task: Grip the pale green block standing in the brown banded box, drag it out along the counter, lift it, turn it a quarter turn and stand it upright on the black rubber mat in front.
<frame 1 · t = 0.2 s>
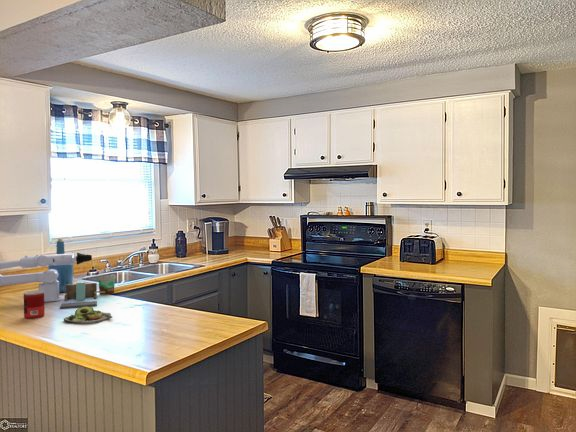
hand: (91, 257, 244), 21 cm above the worktop, tool horizontal, fingers open, 7 cm apart
salad plate: (87, 320, 197), on the worktop
canned food: (34, 317, 201), on the worktop
rubber mat: (79, 305, 223), on the worktop
wine bottle: (60, 291, 262), on the worktop
food container: (109, 293, 256), on the worktop
brown banded box: (81, 298, 240), on the worktop
pale green block: (81, 299, 240), on the worktop
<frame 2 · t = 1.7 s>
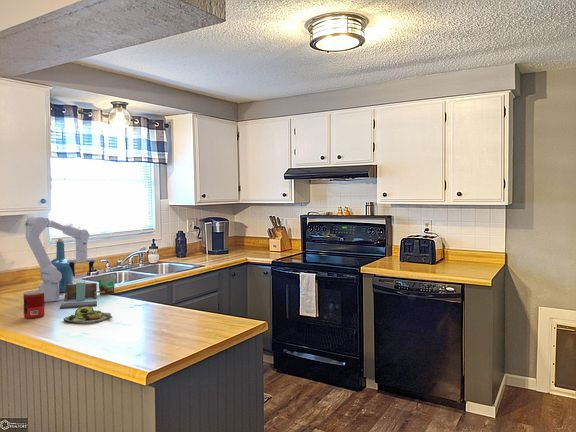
hand: (81, 275, 251), 10 cm above the worktop, tool pointing down, fingers open, 7 cm apart
nothing on the worktop moved.
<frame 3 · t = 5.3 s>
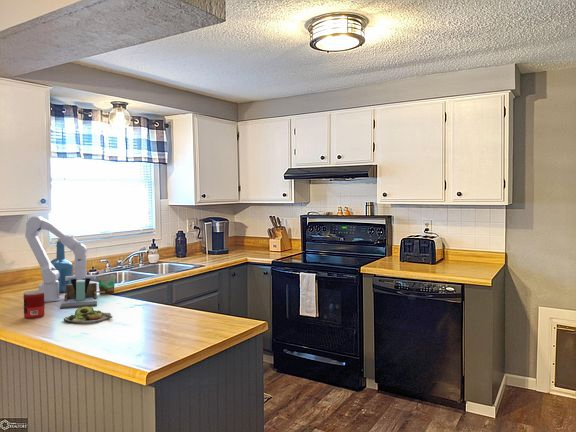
hand: (80, 293, 240), 3 cm above the worktop, tool pointing down, fingers closed on pale green block, 4 cm apart
pale green block: (81, 298, 240), on the worktop, touching gripper
everything else where it was.
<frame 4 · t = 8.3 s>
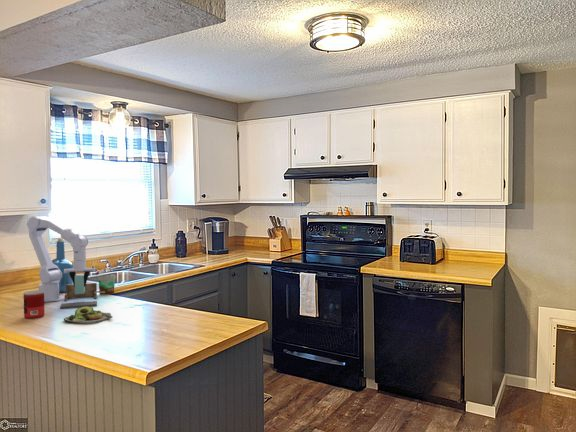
hand: (80, 286, 233), 8 cm above the worktop, tool pointing down, fingers closed on pale green block, 4 cm apart
pale green block: (80, 292, 233), point 4 cm above the worktop, touching gripper
everything else where it was.
when the fingers open (5 cm above the worktop, at t = 11.8 s): pale green block drops 1 cm, resting on rubber mat.
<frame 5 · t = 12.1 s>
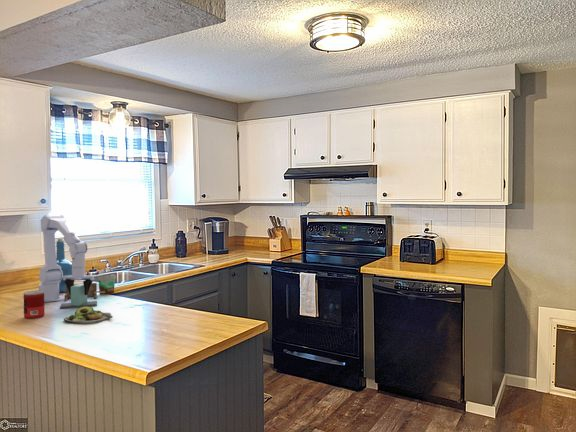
hand: (78, 294, 223), 5 cm above the worktop, tool pointing down, fingers open, 7 cm apart
pale green block: (79, 303, 223), point 1 cm above the worktop, touching rubber mat
everything else where it was.
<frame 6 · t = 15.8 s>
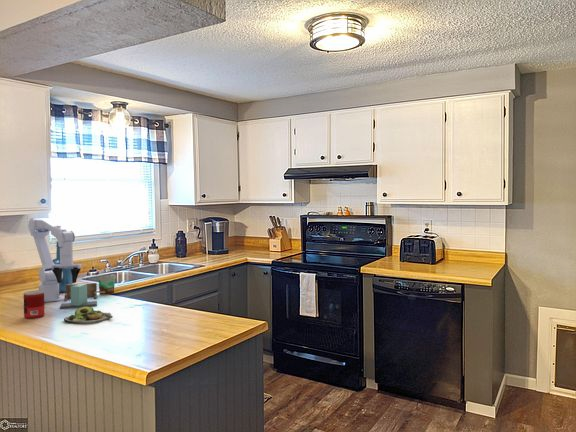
hand: (66, 282, 228), 10 cm above the worktop, tool pointing down, fingers open, 7 cm apart
nothing on the worktop moved.
at the end: pale green block 0.2 cm off-centre on the rubber mat, point 1.0 cm above the rubber mat's base; pale green block tilted 0°; the gripper is holding nothing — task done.
